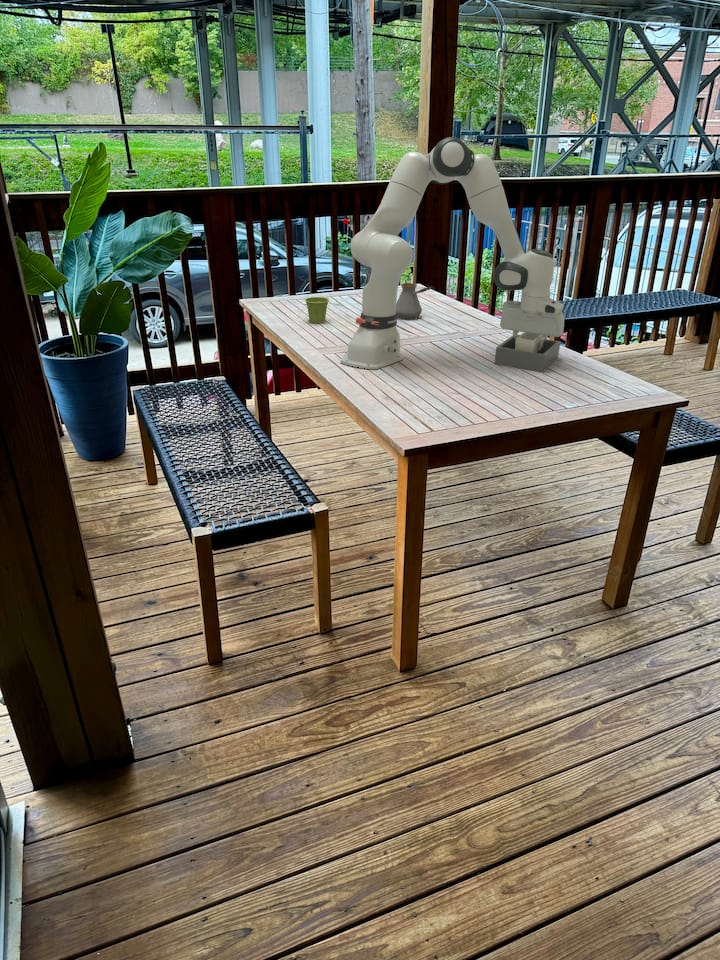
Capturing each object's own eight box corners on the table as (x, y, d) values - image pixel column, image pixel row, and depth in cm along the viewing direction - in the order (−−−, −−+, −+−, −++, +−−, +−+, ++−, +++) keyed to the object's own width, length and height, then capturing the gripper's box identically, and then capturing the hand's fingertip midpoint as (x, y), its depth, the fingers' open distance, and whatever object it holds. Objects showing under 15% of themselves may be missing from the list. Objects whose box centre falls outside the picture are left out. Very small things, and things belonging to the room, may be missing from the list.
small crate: (532, 356, 210) (534, 341, 208) (514, 353, 213) (516, 338, 210) (541, 348, 218) (543, 333, 215) (523, 345, 220) (525, 331, 218)
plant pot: (333, 322, 256) (333, 300, 252) (313, 326, 252) (312, 303, 247) (321, 317, 263) (321, 295, 259) (301, 320, 258) (300, 298, 254)
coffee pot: (388, 315, 268) (389, 278, 261) (411, 312, 273) (412, 275, 266) (418, 327, 252) (420, 288, 245) (441, 324, 257) (444, 285, 250)
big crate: (542, 373, 206) (545, 355, 204) (494, 365, 213) (496, 347, 210) (557, 358, 220) (560, 341, 217) (512, 351, 227) (514, 334, 224)
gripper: (500, 301, 210) (495, 343, 216) (563, 309, 201) (556, 353, 207) (506, 297, 215) (501, 338, 221) (568, 305, 206) (561, 348, 212)
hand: (528, 345), depth 214 cm, fingers closed on small crate, 6 cm apart
